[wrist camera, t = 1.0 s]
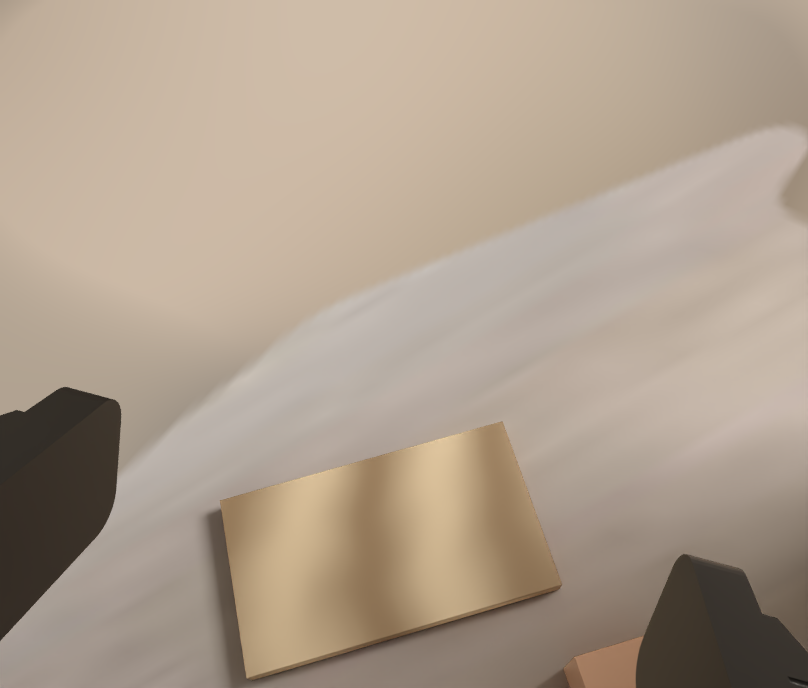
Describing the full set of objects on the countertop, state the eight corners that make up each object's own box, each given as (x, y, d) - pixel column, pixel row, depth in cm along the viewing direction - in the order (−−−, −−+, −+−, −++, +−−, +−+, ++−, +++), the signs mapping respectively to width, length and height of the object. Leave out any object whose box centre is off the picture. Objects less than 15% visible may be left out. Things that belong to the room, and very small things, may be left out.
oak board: (501, 429, 37) (502, 421, 37) (559, 589, 34) (562, 584, 33) (226, 506, 37) (219, 500, 36) (252, 680, 33) (246, 677, 32)
